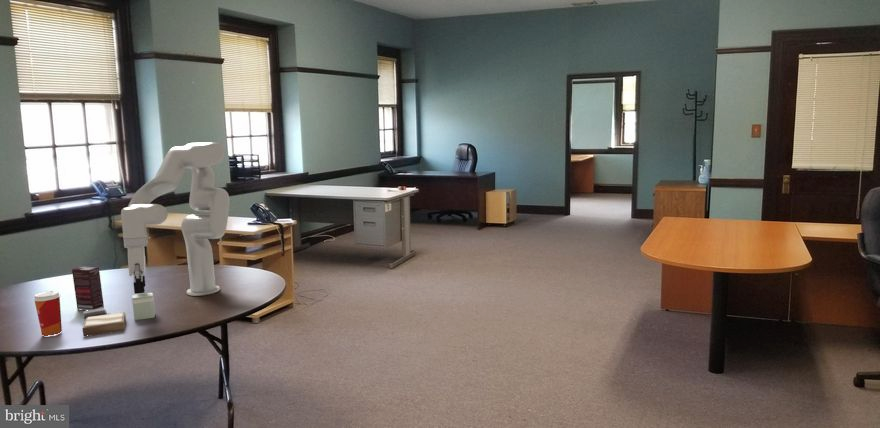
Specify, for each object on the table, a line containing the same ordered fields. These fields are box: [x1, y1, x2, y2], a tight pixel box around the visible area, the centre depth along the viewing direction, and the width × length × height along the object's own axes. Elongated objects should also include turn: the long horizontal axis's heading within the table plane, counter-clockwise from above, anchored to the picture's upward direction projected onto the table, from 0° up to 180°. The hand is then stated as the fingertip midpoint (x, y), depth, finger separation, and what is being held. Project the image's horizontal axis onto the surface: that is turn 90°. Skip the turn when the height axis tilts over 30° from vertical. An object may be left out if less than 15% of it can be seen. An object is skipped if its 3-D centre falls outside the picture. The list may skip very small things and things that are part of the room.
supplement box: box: [71, 265, 105, 311], centre depth 236 cm, size 9×5×16 cm, turn 71°
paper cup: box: [32, 290, 63, 336], centre depth 209 cm, size 8×8×14 cm
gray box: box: [82, 307, 108, 321], centre depth 223 cm, size 4×7×4 cm, turn 123°
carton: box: [131, 292, 156, 321], centre depth 225 cm, size 5×7×8 cm
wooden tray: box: [81, 311, 127, 337], centre depth 215 cm, size 12×12×3 cm
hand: (140, 289), depth 224 cm, fingers open, 9 cm apart
